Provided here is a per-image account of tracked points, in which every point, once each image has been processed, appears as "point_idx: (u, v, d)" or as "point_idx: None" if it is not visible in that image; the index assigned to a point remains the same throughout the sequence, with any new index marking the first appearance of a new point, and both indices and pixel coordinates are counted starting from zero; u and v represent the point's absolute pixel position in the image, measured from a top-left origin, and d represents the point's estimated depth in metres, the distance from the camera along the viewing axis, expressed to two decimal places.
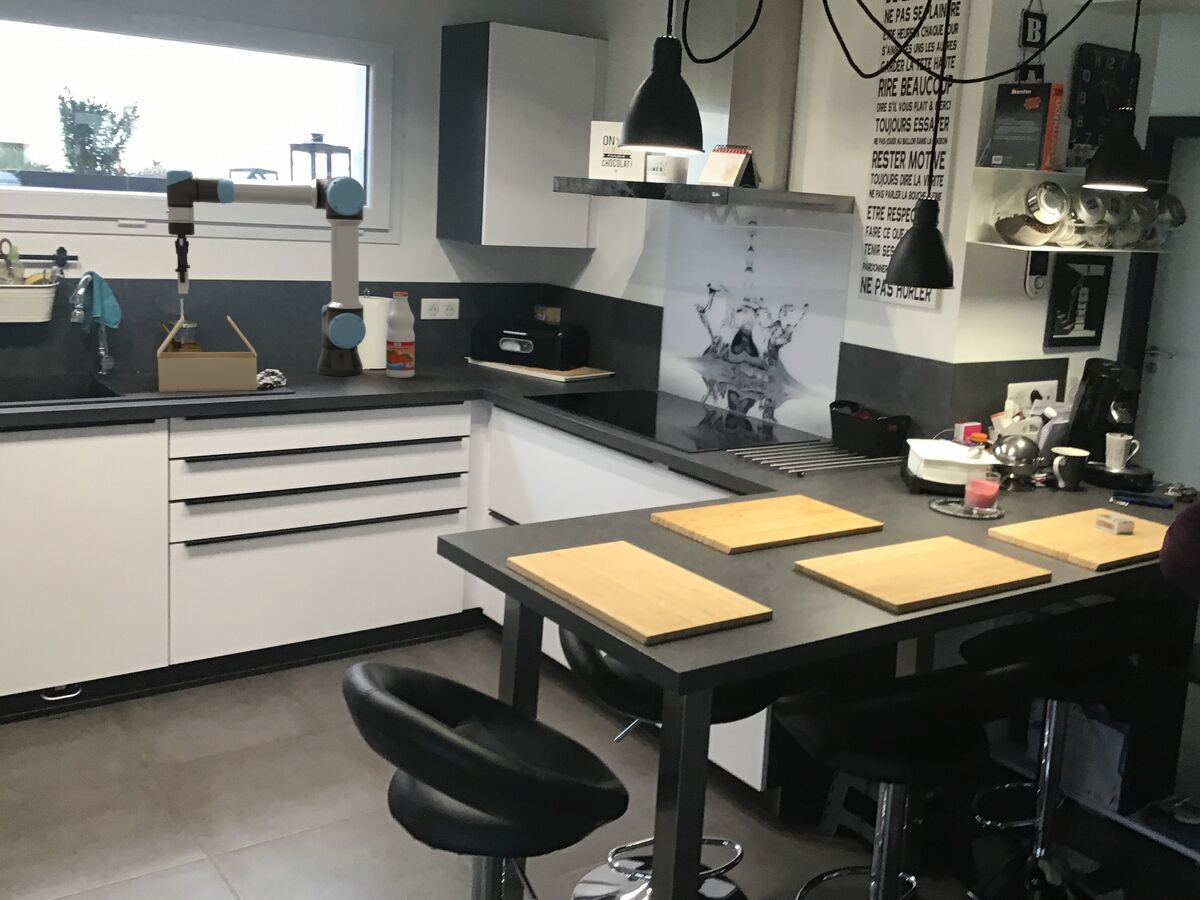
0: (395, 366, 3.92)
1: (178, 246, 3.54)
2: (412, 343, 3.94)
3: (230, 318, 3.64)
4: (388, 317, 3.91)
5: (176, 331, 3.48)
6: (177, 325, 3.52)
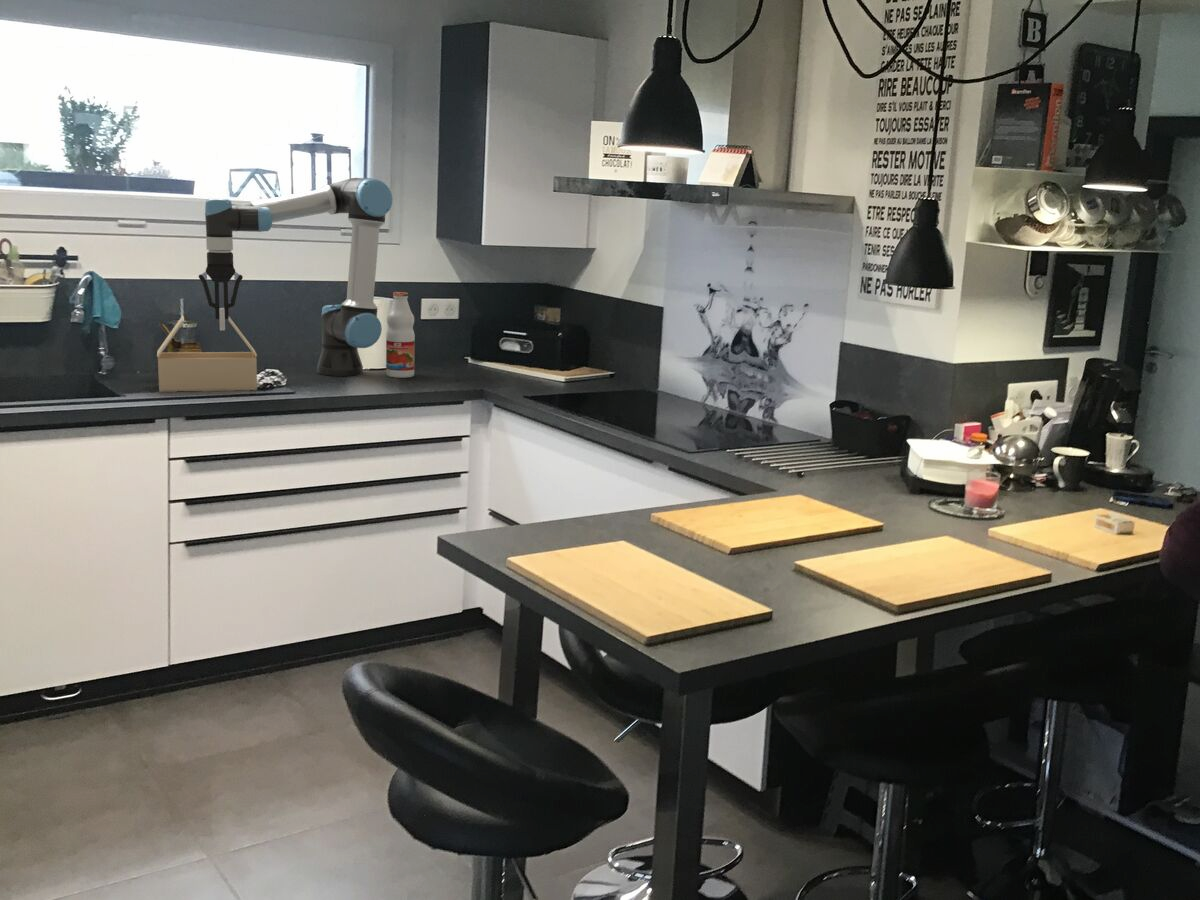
0: (395, 366, 3.92)
1: None
2: (412, 343, 3.94)
3: (230, 318, 3.64)
4: (388, 317, 3.91)
5: (176, 331, 3.48)
6: (177, 325, 3.52)
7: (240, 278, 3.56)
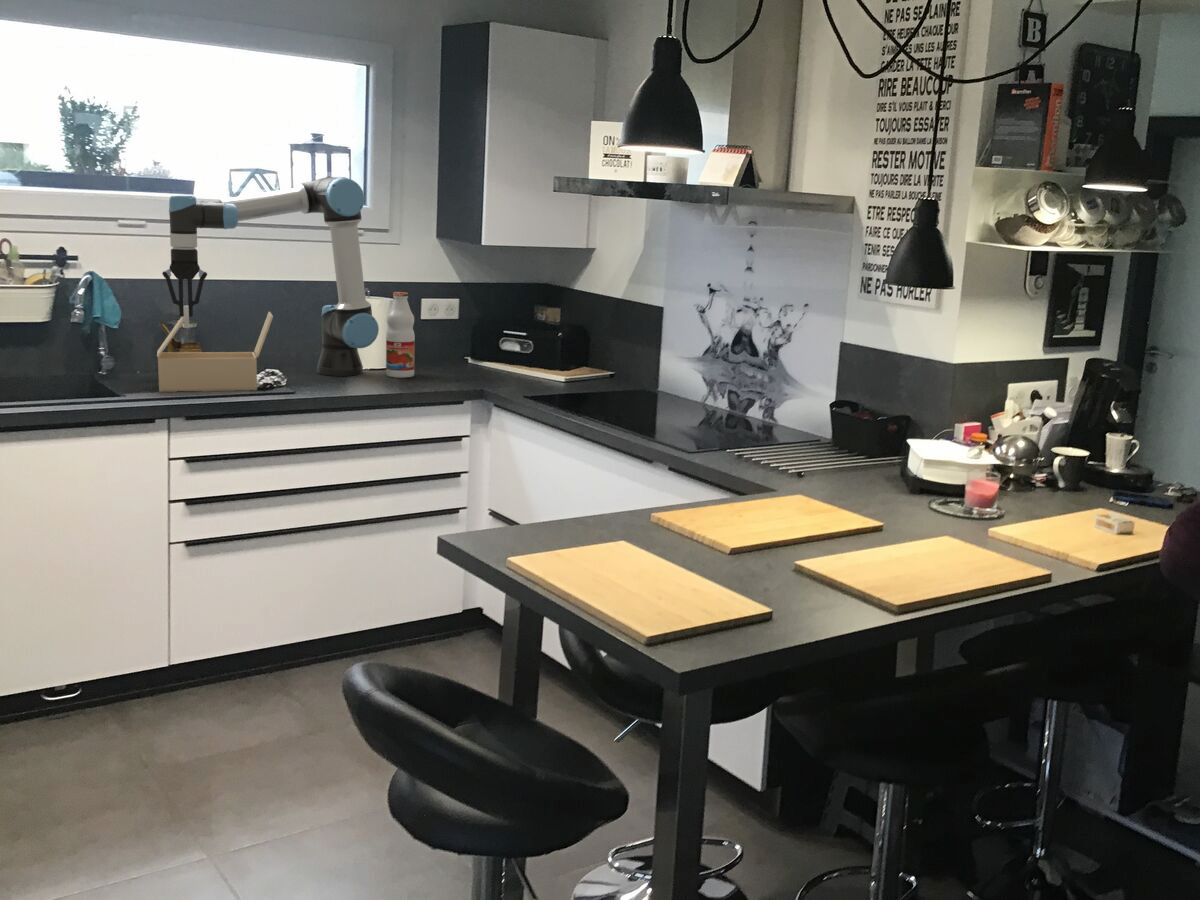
0: (395, 366, 3.92)
1: None
2: (412, 343, 3.94)
3: None
4: (388, 317, 3.91)
5: (176, 331, 3.48)
6: (177, 325, 3.52)
7: (204, 275, 3.52)
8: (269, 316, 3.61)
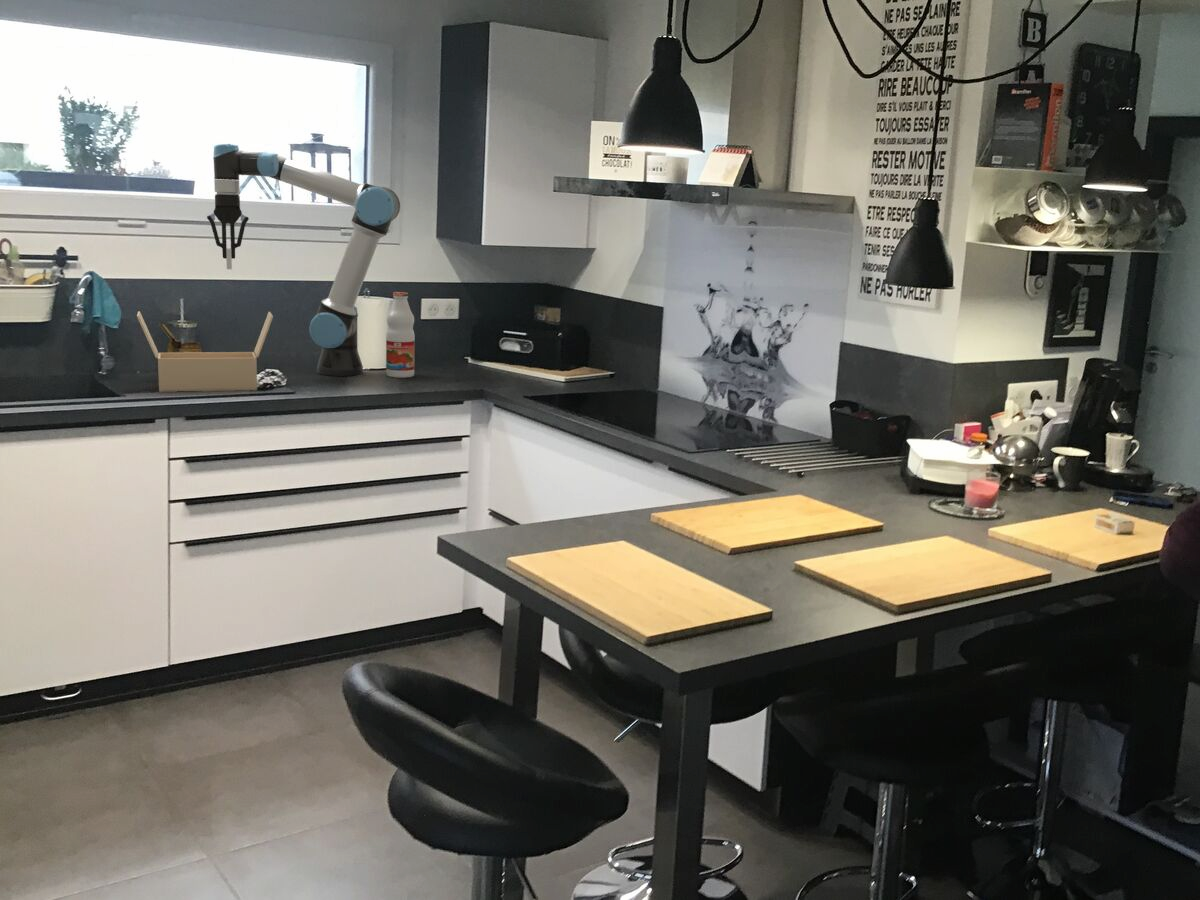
0: (395, 366, 3.92)
1: None
2: (412, 343, 3.94)
3: None
4: (388, 317, 3.91)
5: (143, 328, 3.45)
6: None
7: (246, 219, 3.75)
8: (269, 316, 3.61)
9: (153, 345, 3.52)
